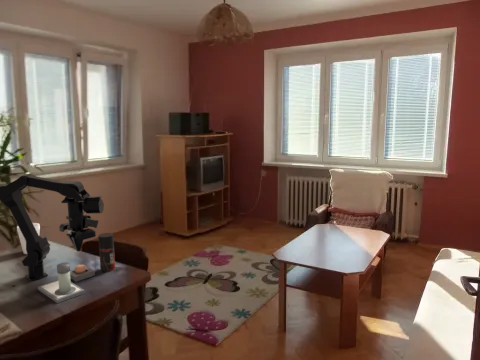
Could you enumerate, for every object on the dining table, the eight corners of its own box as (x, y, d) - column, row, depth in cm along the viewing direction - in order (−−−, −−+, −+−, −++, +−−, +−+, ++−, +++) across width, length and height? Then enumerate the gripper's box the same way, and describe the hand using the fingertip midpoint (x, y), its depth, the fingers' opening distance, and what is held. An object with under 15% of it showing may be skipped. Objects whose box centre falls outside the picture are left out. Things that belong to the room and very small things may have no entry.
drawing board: (38, 289, 141) (37, 286, 140) (64, 280, 148) (64, 277, 148) (57, 303, 130) (56, 299, 130) (84, 293, 138) (84, 289, 138)
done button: (73, 272, 153) (72, 266, 152) (82, 269, 156) (82, 263, 155) (78, 275, 150) (77, 269, 150) (87, 272, 153) (87, 266, 153)
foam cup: (28, 248, 186) (25, 222, 183) (46, 248, 185) (43, 223, 182) (15, 254, 176) (12, 228, 174) (33, 255, 175) (31, 228, 173)
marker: (58, 289, 138) (56, 263, 136) (70, 287, 140) (68, 261, 138) (59, 294, 134) (57, 267, 132) (72, 291, 136) (70, 265, 135)
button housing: (66, 276, 153) (66, 271, 152) (85, 270, 159) (84, 265, 158) (75, 281, 148) (75, 276, 147) (94, 275, 154) (94, 270, 153)
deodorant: (110, 272, 157) (108, 237, 154) (97, 271, 158) (95, 236, 155) (117, 266, 162) (115, 233, 160) (105, 265, 164) (103, 232, 161)
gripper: (107, 213, 149) (109, 251, 151) (83, 206, 161) (86, 241, 163) (79, 219, 140) (82, 258, 143) (57, 211, 152) (60, 247, 155)
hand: (78, 251), depth 151 cm, fingers closed
